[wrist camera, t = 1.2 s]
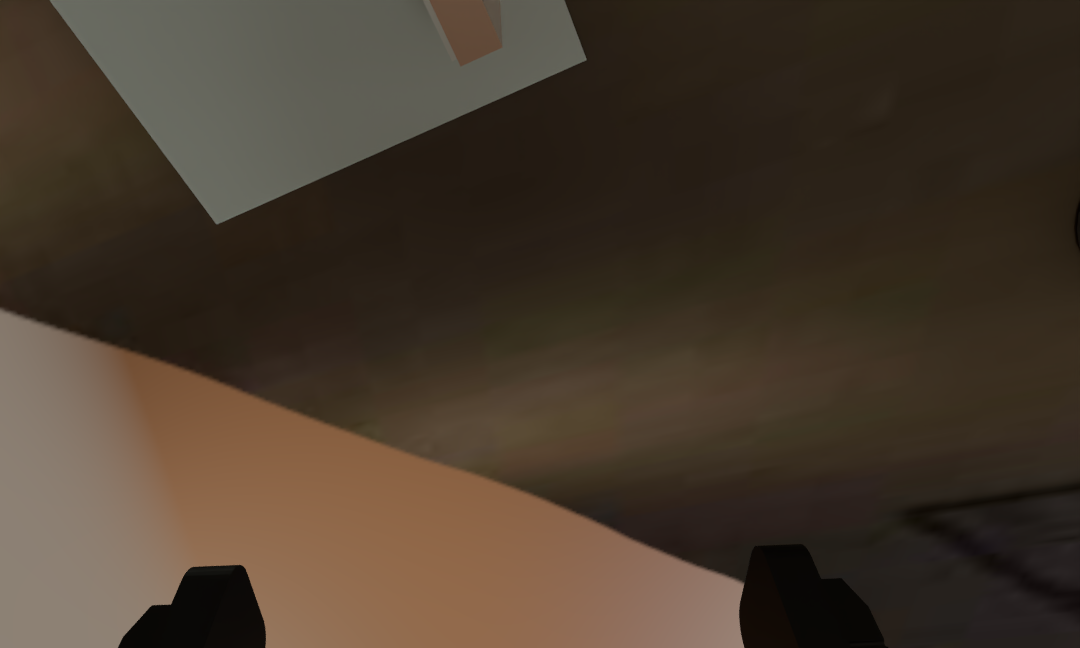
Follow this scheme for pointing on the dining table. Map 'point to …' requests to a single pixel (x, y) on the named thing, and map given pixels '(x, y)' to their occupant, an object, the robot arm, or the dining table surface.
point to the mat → (300, 81)
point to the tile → (467, 27)
